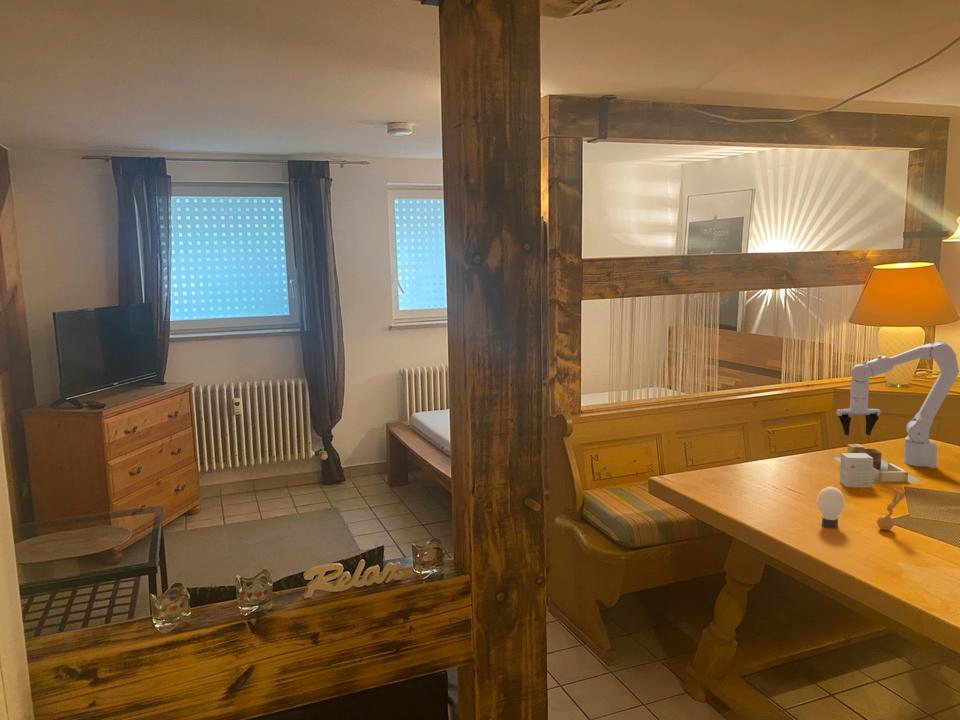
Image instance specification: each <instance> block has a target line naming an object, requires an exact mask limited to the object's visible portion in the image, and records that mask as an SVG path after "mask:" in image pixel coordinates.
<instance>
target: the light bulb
mask: <svg viewBox="0 0 960 720" xmlns="http://www.w3.org/2000/svg"><path fill="white" fill-rule="evenodd" d="M845 501H846V500H845V497H844V494H843V493H842V491H840V489H838V488H837V487H835V486H827V487H824V488H823V489H821V491H820V492H819V494H818V496H817V506H818V509H819V512H821V514H822V517H821V526H823V527H825V528H826V527H827V528H838V526H839V525H838V524H839V516H840V515H841V514H842V513H843V511H844V509H845Z"/></svg>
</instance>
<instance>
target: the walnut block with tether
mask: <svg viewBox="0 0 960 720" xmlns="http://www.w3.org/2000/svg"><path fill="white" fill-rule="evenodd" d="M846 448H847V450H846V451H847V452H846V453H866V454H868V455H869V456H871V457H873V467H874V468H875V469H877V470H881V459H882V452H881V451H879V450H877V449H875V448H865V446H863V445H861V444H860V443H850V444H849V443H847V447H846Z"/></svg>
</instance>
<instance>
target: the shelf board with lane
mask: <svg viewBox="0 0 960 720" xmlns="http://www.w3.org/2000/svg"><path fill="white" fill-rule="evenodd" d="M833 460H836V461H837V462H839V463H841V457H833ZM907 482H908V483H911V482H912V483H915V482H916V483H920V482H922V481H921V480H920V479H918V478H916V477H914V476H912V475H910V474H909V471H907V470H904V469H903V468H902V467H899V466H897V465H896V464H893V463H889V462H887V461H885V460H884V459H882V458H881V470H877V469H875V468H874V467H873V476H872V483H907Z"/></svg>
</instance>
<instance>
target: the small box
mask: <svg viewBox="0 0 960 720" xmlns="http://www.w3.org/2000/svg"><path fill="white" fill-rule="evenodd" d="M840 458H841V463H840V462H839V463H840V464H839V465H840V466H839V482H840V484H842V485H843V486H844V487H846V488H873V482H872V476H873V457H871V456H869V455H868V454H866V453H847V452H846V453H845V452H844V453H843V452H841V453H840Z"/></svg>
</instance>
